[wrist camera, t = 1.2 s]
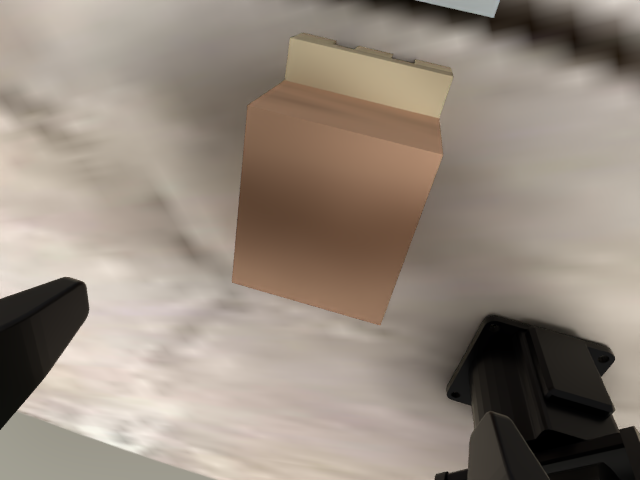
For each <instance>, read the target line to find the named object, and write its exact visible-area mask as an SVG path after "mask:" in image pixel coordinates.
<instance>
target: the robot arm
mask: <svg viewBox="0 0 640 480" xmlns="http://www.w3.org/2000/svg"><path fill="white" fill-rule="evenodd" d="M88 313H89V302H88V295H87V287H86V285H85V283H84V282H82V281H80V280H77V279H73V278H70V277H63V278H60V279H57V280H54V281H51V282H48V283H45V284H42V285H39V286H36V287H34V288H31V289H28V290H25V291H22V292H19V293H16V294H13V295H10V296H7V297H5V298H2V299H0V430H1V428H2V427H3V426H4V425H5V424H6V423H7V421H8V420H9V419H10V418H11V417H12V415H13V414H14V413H15V412H16V411H17V410H18V409H19V407H20V406H21V405H22V404H23V403H24V402H25V400H26V399H27V398H28V397H29V396H30V395H31V393H32V392H33V391H34V390H35V389H36V388H37V386H38V385H39V384H40V383H41V382H42V380H43V379H44V378H45V377H46V375H47V374H48V373H49V371H50V370H51V368H52V367H53V366H54V364H55V363H56V361H57V360H58V358H59V357H60V356H61V354H62V353H63V351H64V350H65V348H66V347H67V346H68V344H69V343H70V341H71V340H72V338H73V337H74V336H75V334H76V333H77V331H78V330H79V328H80V327H81V326H82V324H83V323H84V321H85V320H86V318H87V316H88ZM491 325H497V326H495V327H491ZM600 356H604V357H600ZM614 361H615V356H614V354H613V352H612V351H611V349H610V348H608V347H605V346H602V345H598V344H595V343H591V342H587V341H584V340H582V339H578V338H575V337H571V336H568V335H564V334H561V333H557V332H554V331H550V330H546V329H543V328H539V327H534V326H531V325H527V324H523V323H520V322H516V321H513V320H509V319H506V318H502V317H499V316H489V317H487V318H485V319H484V321H483V322H482V324H481V326H480V328H479V330H478V331H477V333H476V335H475V337H474V339H473V341H472V342H471V344H470V346H469V348H468V350H467V351H466V353H465V355H464V357H463V359H462V360H461V362H460V364H459V366H458V368H457V369H456V371H455V373H454V375H453V377H452V379H451V380H450V382H449V384H448V386H447V389H446V391H447V397H448V398H449V399H451V400H454V401H457V402H460V403H464V404H467V405H470V406H472V413H473V421H474V431H473V432H472V435H471V437H470V442H469V461H468V469H464V470H460V471H456V472H452V473H449V472H442V473H438V474H436V476H435V480H640V433H639V432H638V430H637V429H636V428H635V426H632V427H628V428H624V429H620V430H619V429H618V427H617V424H616V422H615V420H614V418H613V415H612V414H613V413H614V411H615V408H614V405H613V403H612V401H611V399H610V397H609V394H608V392H607V390H606V388H605V386H604V383H603V381H602V379H601V376H602V375H603V374H604V373H605V372H606V371H607V369H608V368H609V367H610V366H611V365H612V364H613V362H614Z"/></svg>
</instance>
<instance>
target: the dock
mask: <svg viewBox="0 0 640 480" xmlns="http://www.w3.org/2000/svg"><path fill="white" fill-rule="evenodd" d="M417 1H421V2H426V3H430V4H435V5H439V6H444V7H448V8H452V9H457V10H461V11H466V12H470V13H475V14H479V15H483V16H488V17H492V18H494V15H495V12H496V9H497V7H498V4H499V1H500V0H417Z"/></svg>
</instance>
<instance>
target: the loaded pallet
mask: <svg viewBox="0 0 640 480" xmlns="http://www.w3.org/2000/svg"><path fill="white" fill-rule="evenodd" d="M392 56H393V54H390V53H386V52H382V51H378V50H373V49H369V48H365V47H361V46H358V47H357V48H356V49H351V48H346V47H342V46H338V45H336V41H335V40H331V39H327V38H323V37H319V36H314V35H310V34H306V33H301V34H298V35H296V36H293V37H291V38H290V43H289V50H288V58H287V65H286V73H285V80H284V81H283V82H281V83H280V84H278V85H277V86H275V87H274V88H272V89H271V90H269V91H268V92H266V93H265V94H263V95H262V96H260V97H259V98H257V99H256V100H255V101H253V102H252V103H250V104H249V105H247V117H246V128H245V139H244V151H243V162H242V173H241V185H240V196H239V207H238V219H237V230H236V241H235V253H234V264H233V275H232V283H235V284H239V285H242V286H246V287H249V288H253V289H256V290H260V291H263V292H267V293H270V294H273V295H277V296H280V297H284V298H287V299H291V300H294V301H298V302H301V303H305V304H308V305H311V306H315V307H318V308H322V309H325V310H329V311H332V312H336V313H339V314H343V315H346V316H349V317H353V318H356V319H360V320H363V321H367V322H370V323H374V324H377V325H381V322H382V320H383V317H384V314H385V311H386V309H387V306H388V303H389V301H390V298H391V295H392V292H393V290H394V287H395V284H396V282H397V279H398V276H399V273H400V271H401V268H402V265H403V263H404V260H405V257H406V254H407V252H408V249H409V246H410V244H411V241H412V238H413V235H414V233H415V230H416V227H417V225H418V222H419V219H420V216H421V214H422V211H423V208H424V206H425V203H426V200H427V197H428V195H429V192H430V189H431V187H432V184H433V181H434V178H435V176H436V173H437V170H438V167H439V165H440V162H441V159H442V157H443V149H442V140H441V131H440V122H439V117H440V114H441V111H442V108H443V105H444V103H445V100H446V97H447V94H448V91H449V88H450V85H451V82H452V79H453V74H452V71H451V68H450V67H445V66H441V65H437V64H433V63H428V62H424V61H420V60H416V59H415V62H414V63H409V62H405V61H401V60H397V59H393V58H392Z"/></svg>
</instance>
